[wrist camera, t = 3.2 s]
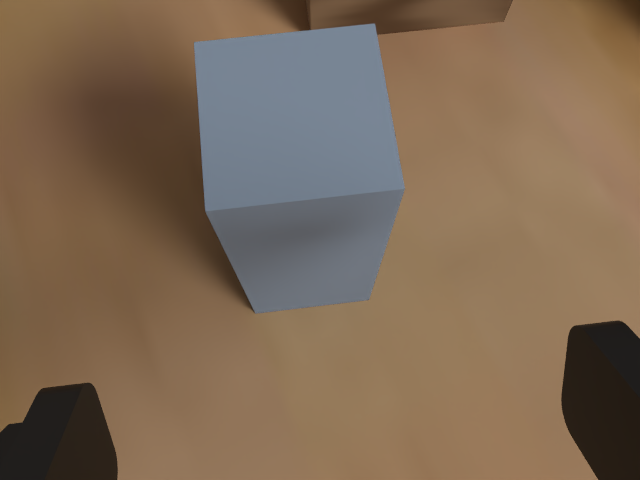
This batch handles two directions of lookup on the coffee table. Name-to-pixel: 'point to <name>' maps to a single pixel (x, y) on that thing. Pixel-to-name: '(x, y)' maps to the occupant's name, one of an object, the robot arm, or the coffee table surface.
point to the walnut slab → (404, 13)
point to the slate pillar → (299, 162)
